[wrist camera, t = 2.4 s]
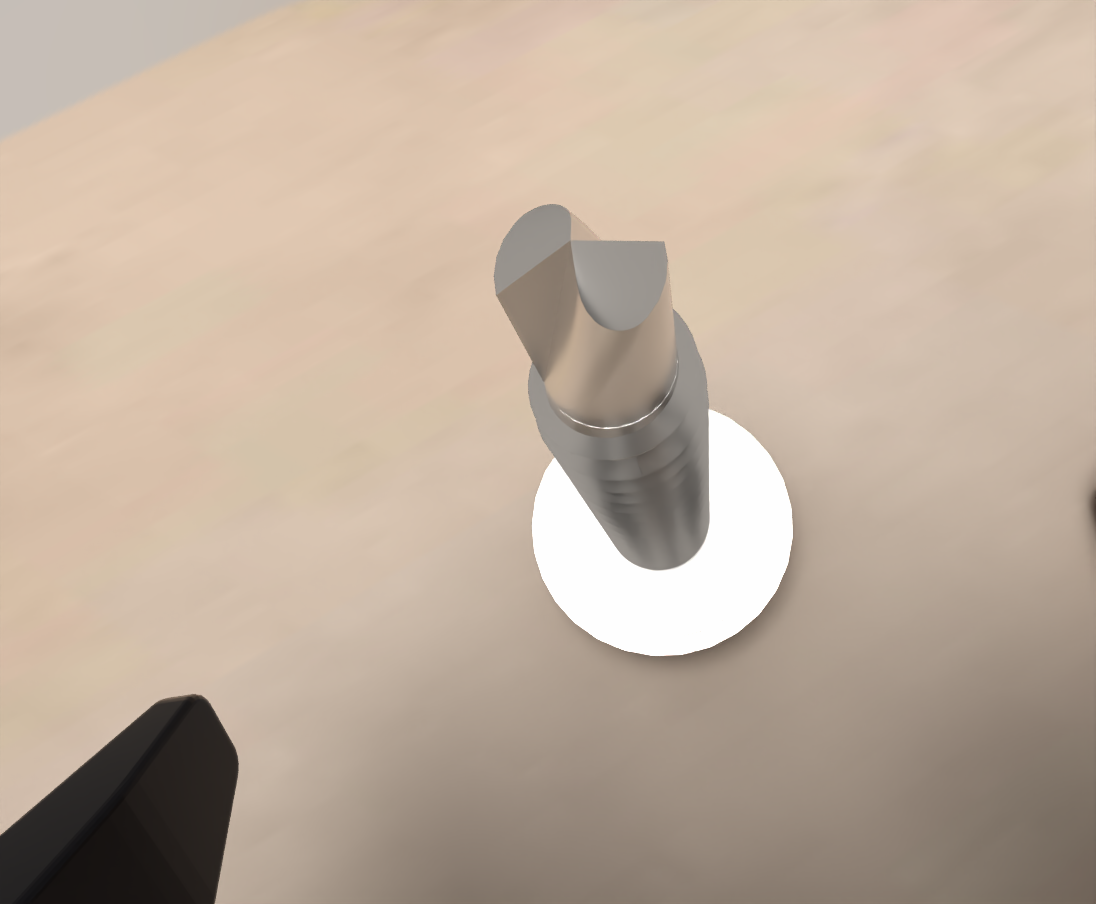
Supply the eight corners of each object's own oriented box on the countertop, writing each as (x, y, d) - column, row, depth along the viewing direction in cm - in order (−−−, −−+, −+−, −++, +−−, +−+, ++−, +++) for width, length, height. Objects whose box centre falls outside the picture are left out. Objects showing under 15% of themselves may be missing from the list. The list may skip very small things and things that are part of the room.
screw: (816, 623, 18) (583, 686, 18) (741, 402, 19) (527, 466, 19) (1067, 463, 5) (305, 676, 6) (798, -136, 7) (207, 74, 7)
